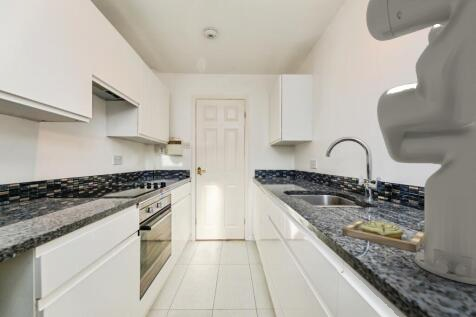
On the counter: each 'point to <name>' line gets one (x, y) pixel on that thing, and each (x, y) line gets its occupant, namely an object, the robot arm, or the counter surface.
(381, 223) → the yellow-green flat piece
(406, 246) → the wooden bay
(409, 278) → the counter surface
